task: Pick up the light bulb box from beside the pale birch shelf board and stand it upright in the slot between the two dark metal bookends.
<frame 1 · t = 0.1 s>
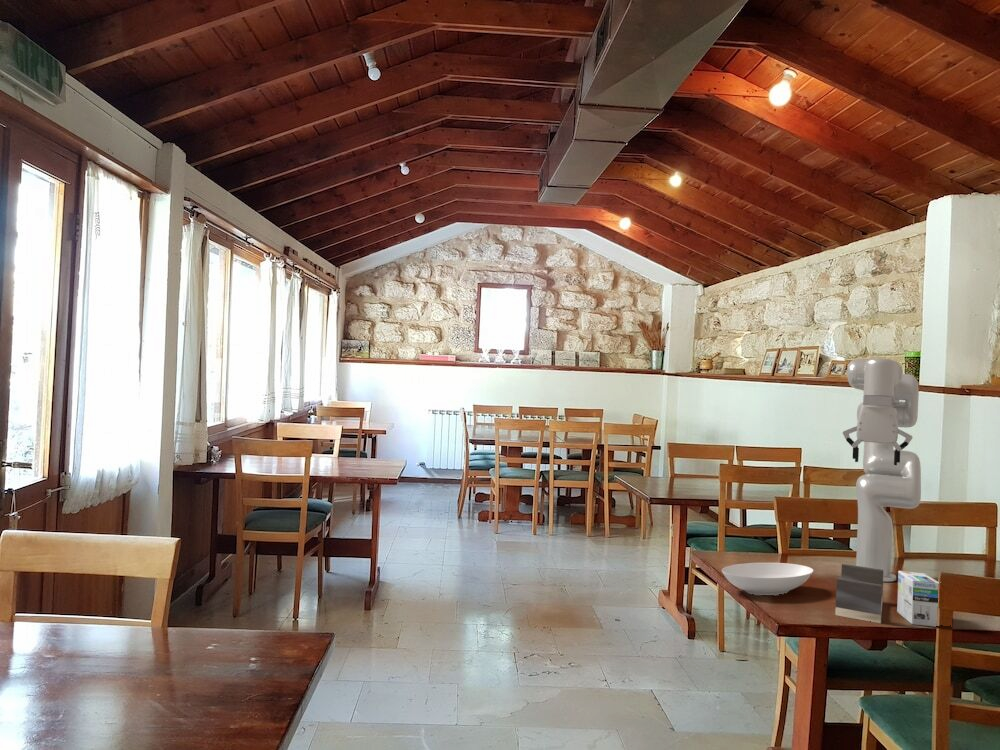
hand: (875, 463, 197), 37 cm above the table, tool pointing down, fingers open, 9 cm apart
shelf: (859, 609, 181), on the table
bowl: (767, 592, 194), on the table
light bulb box: (917, 620, 175), on the table
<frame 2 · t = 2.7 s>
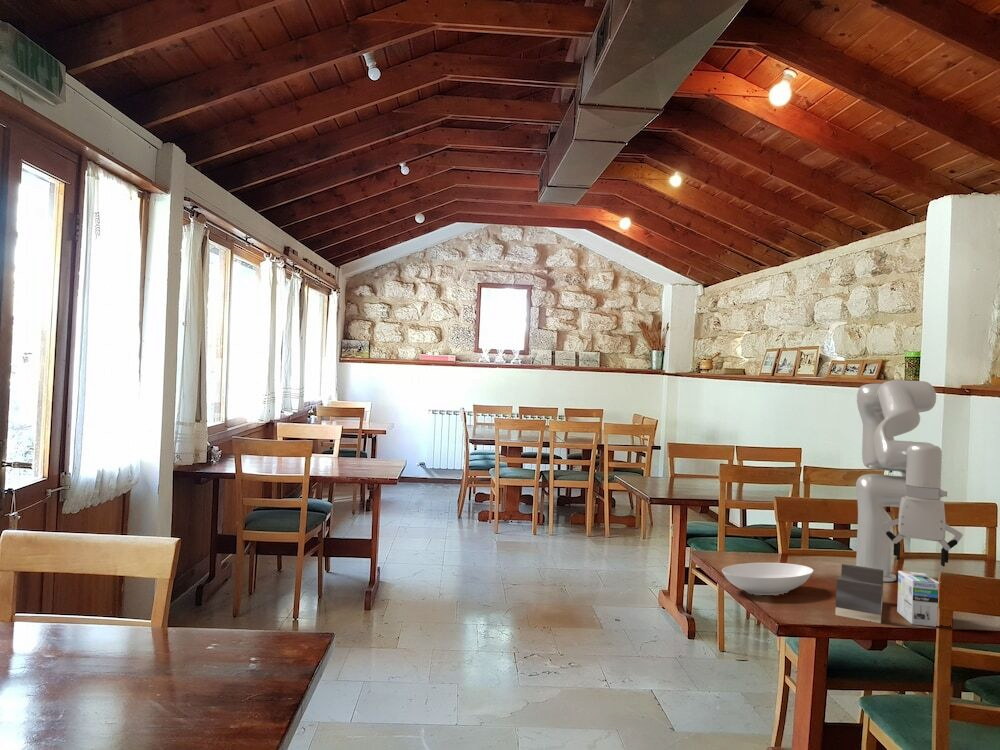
hand: (920, 562, 175), 14 cm above the table, tool pointing down, fingers open, 9 cm apart
nothing on the table moved.
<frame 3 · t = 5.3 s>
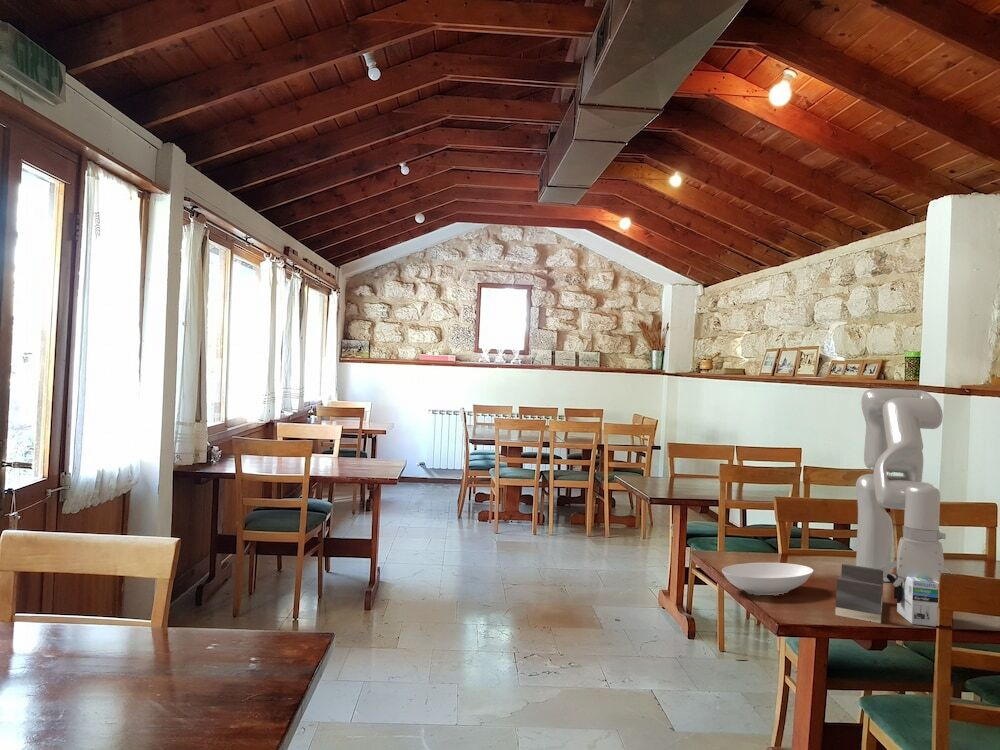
hand: (918, 605, 175), 4 cm above the table, tool pointing down, fingers closed on light bulb box, 8 cm apart
light bulb box: (917, 620, 175), on the table, touching gripper
everything else where it was.
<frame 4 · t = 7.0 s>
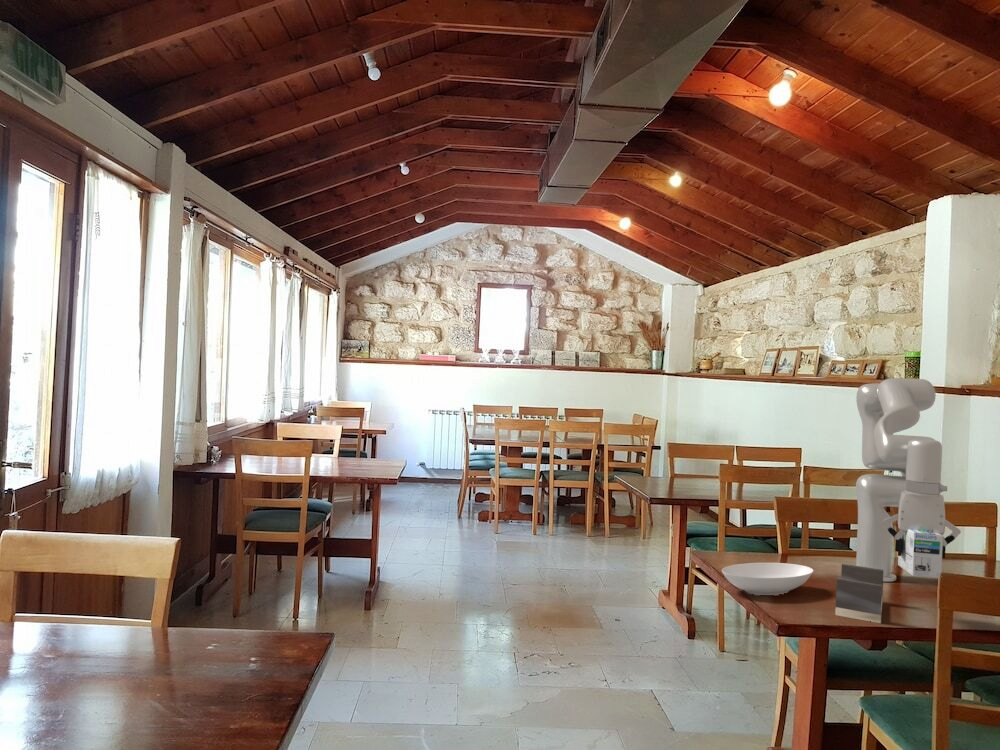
hand: (919, 557, 176), 15 cm above the table, tool pointing down, fingers closed on light bulb box, 8 cm apart
light bulb box: (918, 572, 176), point 11 cm above the table, touching gripper
everything else where it was.
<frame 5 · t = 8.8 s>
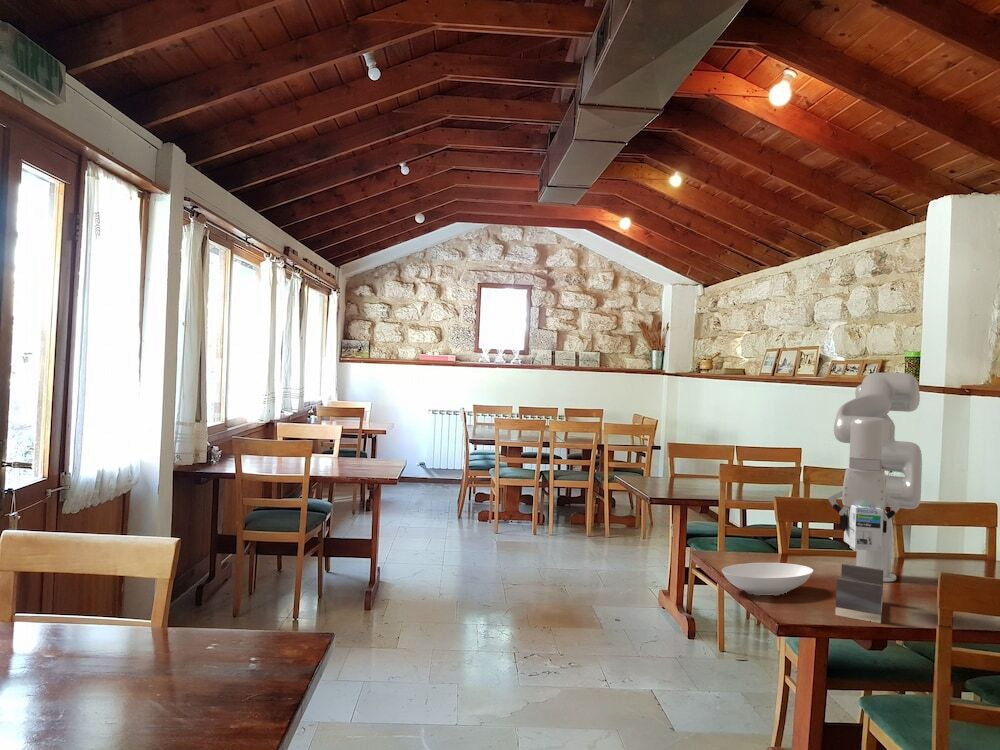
hand: (862, 532, 182), 20 cm above the table, tool pointing down, fingers closed on light bulb box, 8 cm apart
light bulb box: (862, 547, 182), point 16 cm above the table, touching gripper
everything else where it was.
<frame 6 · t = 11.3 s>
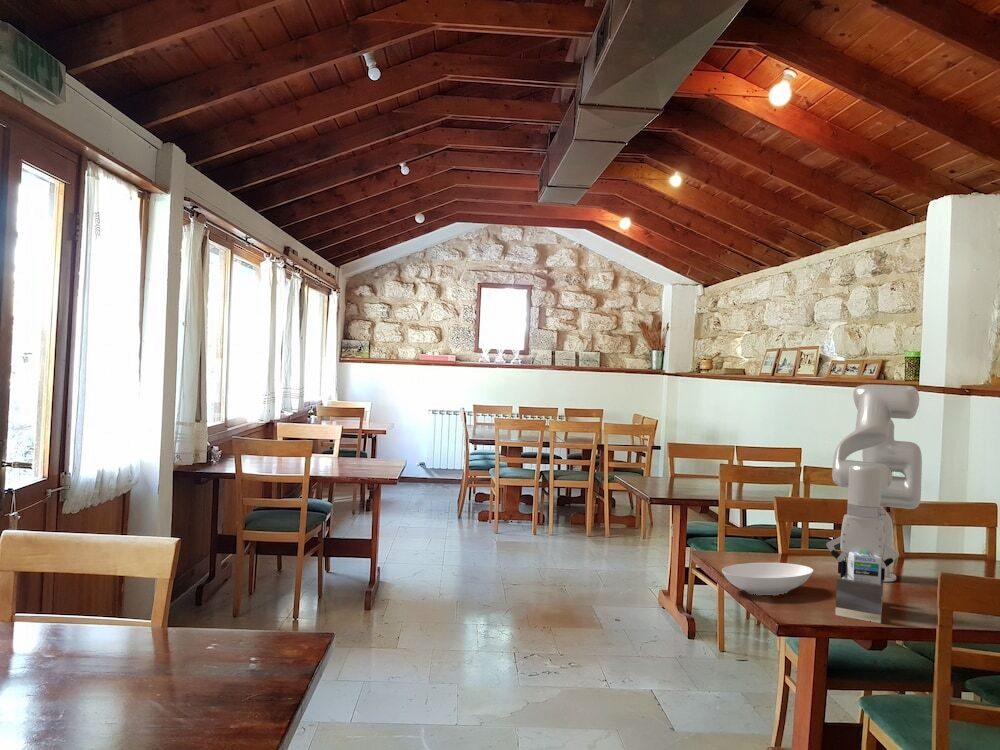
hand: (860, 579, 182), 8 cm above the table, tool pointing down, fingers closed on light bulb box, 8 cm apart
light bulb box: (860, 594, 181), point 4 cm above the table, touching gripper
everything else where it was.
when the fingers open (7 cm above the table, at t = 12.4 s): light bulb box drops 2 cm, resting on shelf.
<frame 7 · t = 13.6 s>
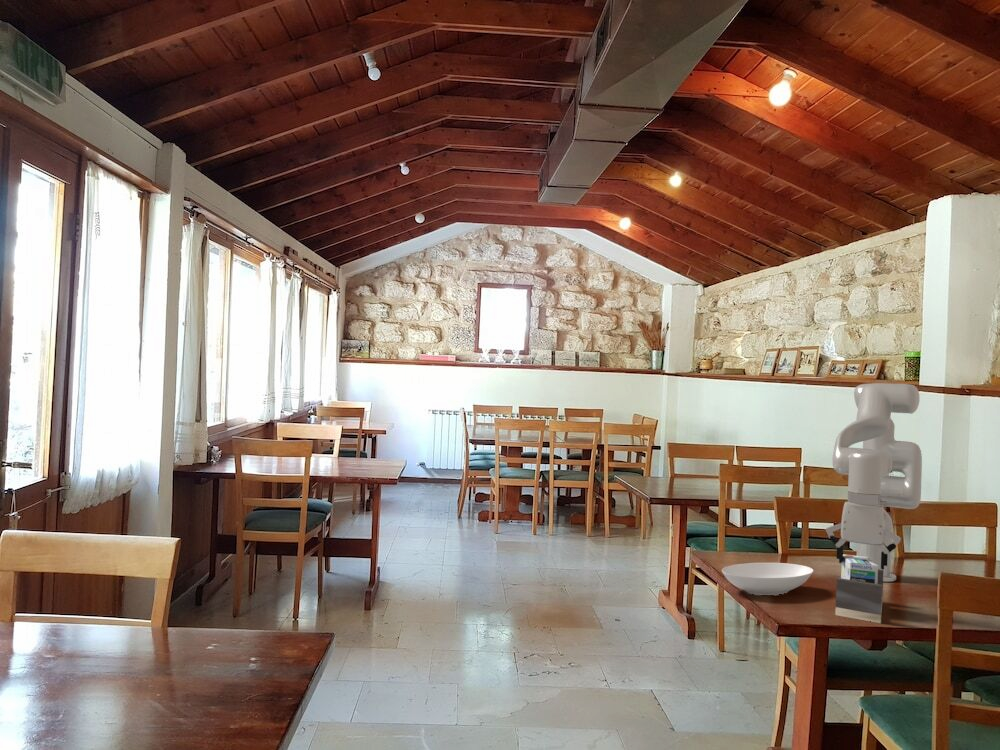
hand: (861, 565, 182), 11 cm above the table, tool pointing down, fingers open, 9 cm apart
light bulb box: (857, 601, 182), point 2 cm above the table, touching shelf
everything else where it was.
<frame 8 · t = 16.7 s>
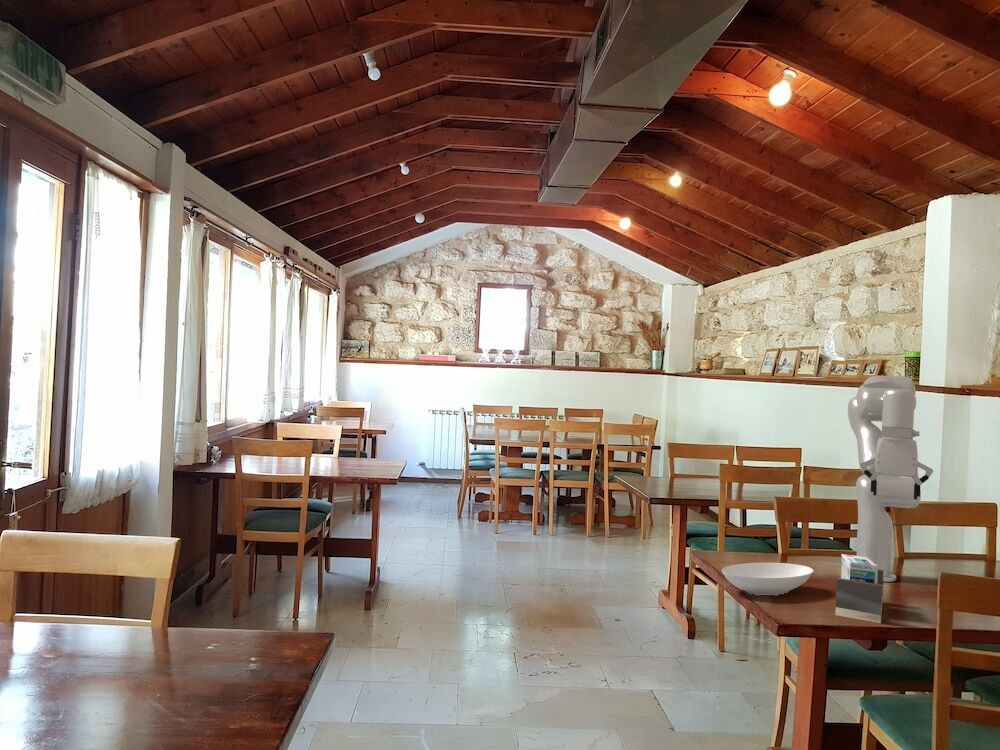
hand: (894, 497, 191), 28 cm above the table, tool pointing down, fingers open, 9 cm apart
nothing on the table moved.
at the end: light bulb box 0.5 cm off-centre on the shelf, point 1.8 cm above the shelf's base; light bulb box tilted 0°; the gripper is holding nothing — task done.
